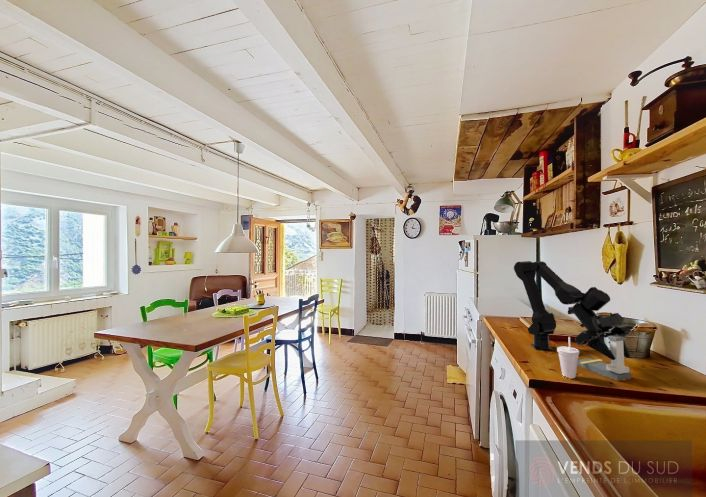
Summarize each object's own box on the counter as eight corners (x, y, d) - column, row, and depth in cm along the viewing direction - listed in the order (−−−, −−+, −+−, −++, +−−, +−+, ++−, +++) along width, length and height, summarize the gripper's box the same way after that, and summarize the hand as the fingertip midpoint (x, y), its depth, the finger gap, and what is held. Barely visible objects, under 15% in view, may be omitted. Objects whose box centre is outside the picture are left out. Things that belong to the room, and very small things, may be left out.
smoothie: (584, 381, 101) (583, 340, 101) (563, 380, 102) (561, 339, 102) (574, 373, 107) (573, 334, 107) (554, 372, 108) (552, 334, 108)
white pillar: (606, 369, 104) (605, 335, 104) (616, 367, 105) (615, 334, 105) (618, 373, 100) (617, 339, 100) (629, 372, 101) (628, 337, 101)
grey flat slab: (574, 365, 113) (573, 359, 113) (593, 362, 115) (593, 356, 115) (613, 382, 100) (613, 375, 100) (634, 378, 102) (634, 371, 102)
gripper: (581, 307, 104) (617, 350, 93) (624, 303, 108) (662, 343, 97) (562, 324, 112) (592, 366, 101) (602, 320, 116) (636, 359, 105)
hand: (621, 358), depth 101 cm, fingers open, 6 cm apart
